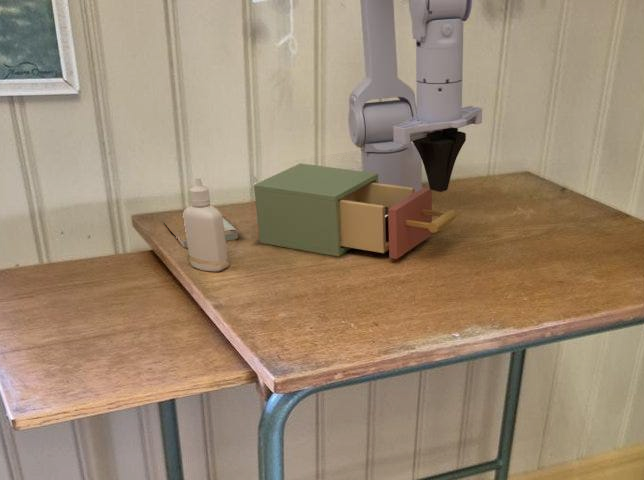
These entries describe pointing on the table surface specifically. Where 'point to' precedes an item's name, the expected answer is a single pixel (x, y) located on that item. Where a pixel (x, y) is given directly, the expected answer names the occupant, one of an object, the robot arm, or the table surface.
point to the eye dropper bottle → (204, 230)
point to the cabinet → (306, 206)
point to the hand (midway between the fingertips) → (438, 189)
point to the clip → (386, 223)
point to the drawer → (403, 217)
